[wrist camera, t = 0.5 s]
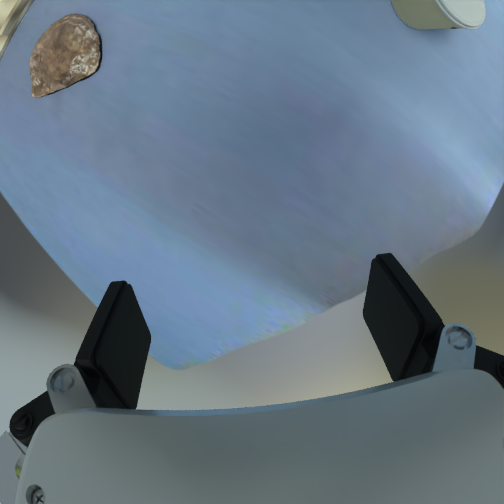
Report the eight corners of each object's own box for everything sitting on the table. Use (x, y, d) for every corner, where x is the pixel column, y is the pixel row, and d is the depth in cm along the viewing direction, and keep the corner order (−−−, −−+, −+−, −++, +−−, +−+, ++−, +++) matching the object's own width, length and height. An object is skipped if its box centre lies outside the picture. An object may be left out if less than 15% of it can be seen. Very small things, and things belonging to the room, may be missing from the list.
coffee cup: (426, 46, 29) (479, 43, 19) (377, 9, 27) (424, -10, 17) (442, 8, 25) (492, 0, 15) (396, -28, 23) (441, -50, 13)
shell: (31, 35, 24) (18, 34, 21) (101, 5, 25) (91, -1, 22) (35, 101, 30) (21, 103, 27) (104, 75, 31) (94, 74, 27)
